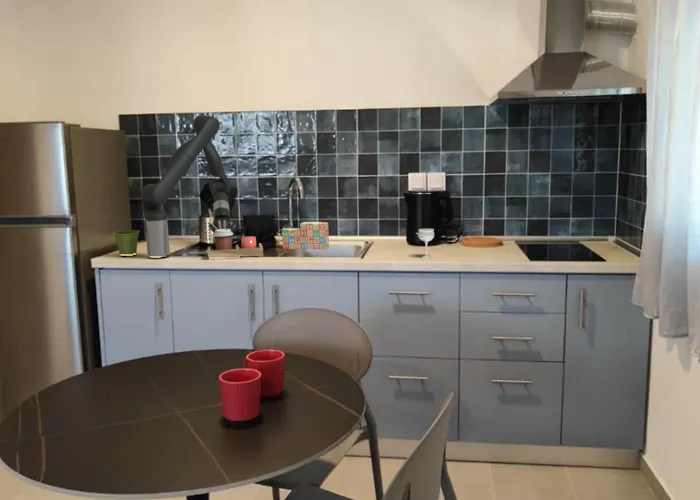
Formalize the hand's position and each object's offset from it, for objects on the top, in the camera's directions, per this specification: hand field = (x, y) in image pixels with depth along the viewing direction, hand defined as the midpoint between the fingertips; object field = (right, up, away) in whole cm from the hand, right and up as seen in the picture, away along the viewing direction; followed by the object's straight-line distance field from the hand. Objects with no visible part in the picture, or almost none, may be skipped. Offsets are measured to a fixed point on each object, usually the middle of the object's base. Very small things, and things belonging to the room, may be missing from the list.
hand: (223, 240), depth 308 cm
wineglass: (+92, -8, -28) cm, 96 cm away
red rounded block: (+14, -7, -8) cm, 17 cm away
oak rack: (+8, -7, -10) cm, 14 cm away
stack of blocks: (+38, -4, +6) cm, 39 cm away
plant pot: (-44, -7, -2) cm, 44 cm away
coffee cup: (+2, -7, -10) cm, 12 cm away
